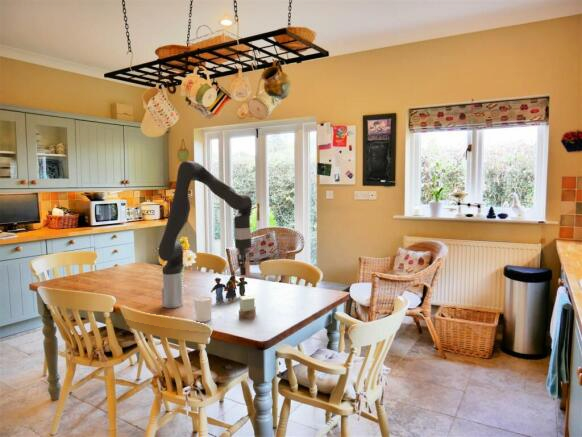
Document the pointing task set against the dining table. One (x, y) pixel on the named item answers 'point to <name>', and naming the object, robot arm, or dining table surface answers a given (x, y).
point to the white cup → (203, 308)
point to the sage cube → (246, 303)
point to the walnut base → (247, 314)
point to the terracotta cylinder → (246, 269)
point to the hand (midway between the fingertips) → (244, 273)
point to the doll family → (229, 289)
